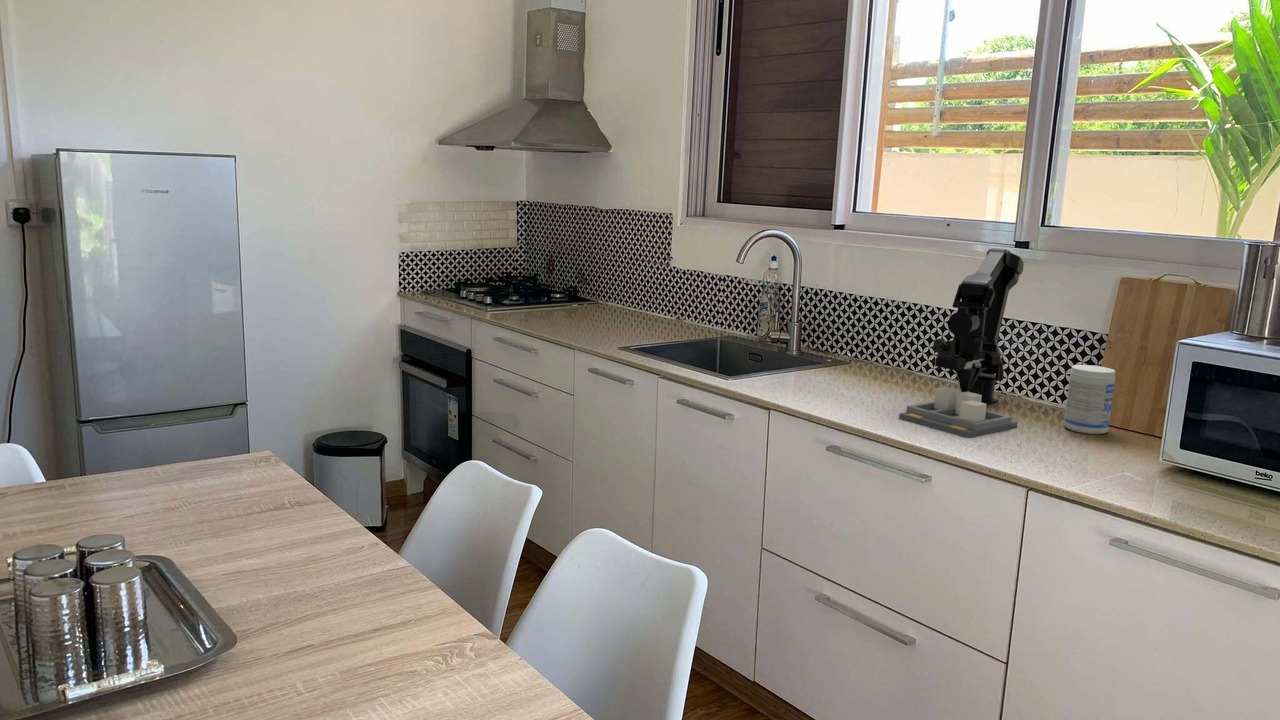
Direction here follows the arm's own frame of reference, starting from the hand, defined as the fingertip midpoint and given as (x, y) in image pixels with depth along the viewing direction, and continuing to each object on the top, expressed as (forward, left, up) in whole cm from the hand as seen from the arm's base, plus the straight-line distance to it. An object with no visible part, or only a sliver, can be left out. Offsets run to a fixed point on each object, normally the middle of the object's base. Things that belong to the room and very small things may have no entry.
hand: (964, 393), depth 234 cm
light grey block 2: (+14, +12, -3) cm, 19 cm away
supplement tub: (-12, +25, -5) cm, 28 cm away
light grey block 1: (+7, +6, -3) cm, 10 cm away
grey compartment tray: (+11, +6, -4) cm, 13 cm away
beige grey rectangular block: (+7, 0, -3) cm, 8 cm away
